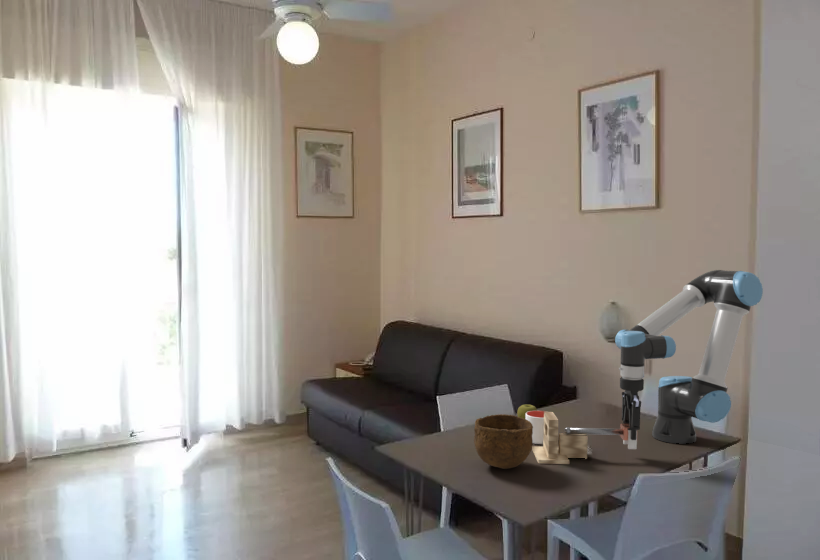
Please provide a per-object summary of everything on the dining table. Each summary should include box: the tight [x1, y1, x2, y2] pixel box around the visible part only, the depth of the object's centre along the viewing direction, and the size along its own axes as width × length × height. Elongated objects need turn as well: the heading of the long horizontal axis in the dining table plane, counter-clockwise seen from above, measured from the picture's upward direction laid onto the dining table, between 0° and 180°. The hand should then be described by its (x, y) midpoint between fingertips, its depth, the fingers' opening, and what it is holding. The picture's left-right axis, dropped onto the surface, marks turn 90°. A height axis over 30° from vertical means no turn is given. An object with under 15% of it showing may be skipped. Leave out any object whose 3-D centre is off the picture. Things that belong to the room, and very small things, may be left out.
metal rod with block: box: [563, 423, 639, 441], centre depth 216 cm, size 24×4×4 cm, turn 88°
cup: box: [525, 410, 547, 445], centre depth 234 cm, size 10×10×10 cm
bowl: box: [473, 413, 534, 470], centre depth 207 cm, size 19×19×15 cm
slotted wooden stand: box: [531, 411, 589, 465], centre depth 217 cm, size 17×14×14 cm
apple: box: [516, 404, 538, 419], centre depth 257 cm, size 8×8×7 cm
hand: (629, 446), depth 216 cm, fingers closed on metal rod with block, 4 cm apart
